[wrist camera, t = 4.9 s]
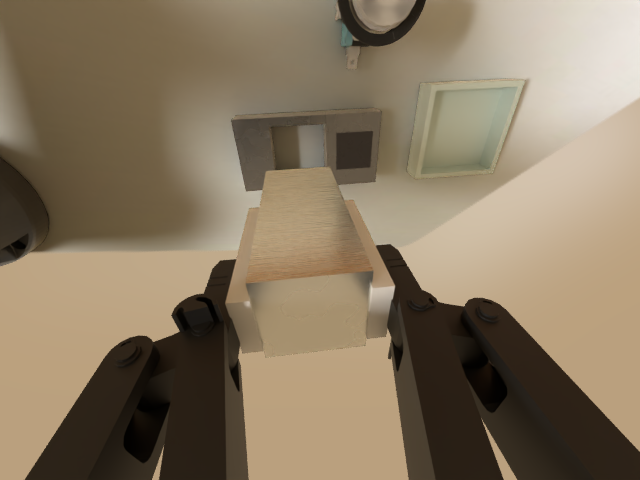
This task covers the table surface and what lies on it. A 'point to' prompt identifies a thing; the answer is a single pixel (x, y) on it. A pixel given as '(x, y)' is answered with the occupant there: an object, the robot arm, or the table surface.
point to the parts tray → (461, 126)
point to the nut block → (307, 266)
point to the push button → (374, 23)
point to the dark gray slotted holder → (339, 143)
